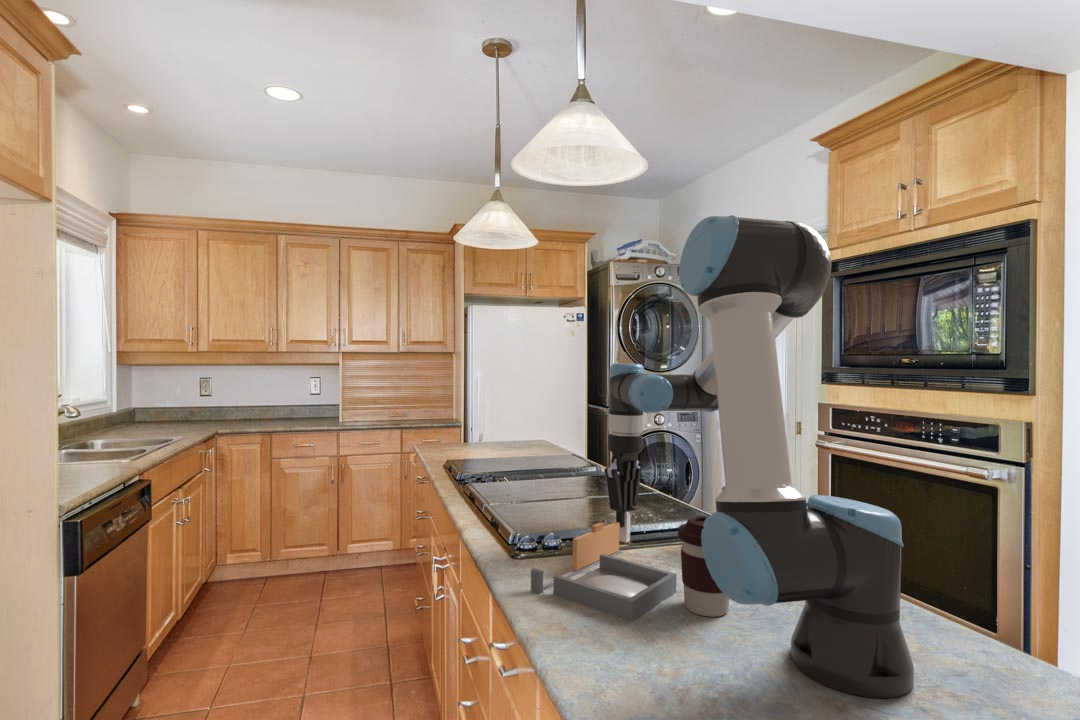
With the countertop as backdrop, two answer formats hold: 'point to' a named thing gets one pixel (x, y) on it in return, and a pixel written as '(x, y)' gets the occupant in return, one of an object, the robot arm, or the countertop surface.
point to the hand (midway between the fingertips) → (622, 540)
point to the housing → (612, 586)
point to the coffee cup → (699, 573)
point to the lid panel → (595, 544)
